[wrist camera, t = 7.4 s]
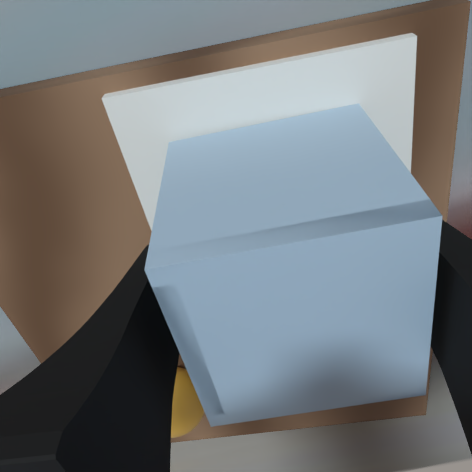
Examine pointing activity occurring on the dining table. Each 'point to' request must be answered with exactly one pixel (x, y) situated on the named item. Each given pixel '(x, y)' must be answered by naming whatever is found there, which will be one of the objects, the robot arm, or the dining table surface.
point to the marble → (185, 405)
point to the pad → (265, 102)
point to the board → (125, 195)
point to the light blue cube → (295, 266)
